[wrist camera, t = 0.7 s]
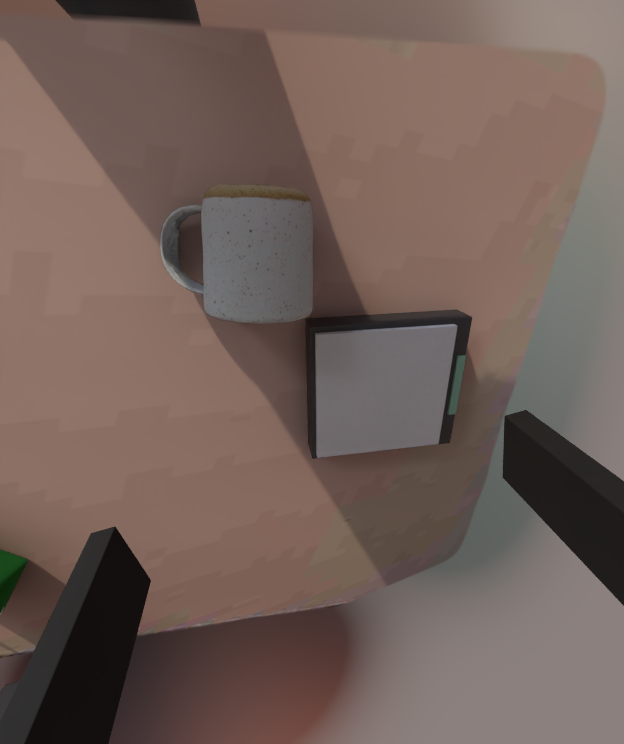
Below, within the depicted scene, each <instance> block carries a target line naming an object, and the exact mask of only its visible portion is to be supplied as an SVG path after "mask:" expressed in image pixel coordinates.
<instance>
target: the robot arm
mask: <svg viewBox="0 0 624 744" xmlns="http://www.w3.org/2000/svg"><path fill="white" fill-rule="evenodd" d="M503 478H504V479H505V480H506V481H507V482H508V483H509V484H510V486H511V487H512V488H513V489H514V490H515V491H516V492H517V493H518V494H519V495H520V496H521V497H522V498H523V499H524V500H525V501H526V502H527V504H528V505H530V507H531V508H532V509H533V510H534V511H535V512H536V513H537V514H538V515H539V516H540V517H541V518H542V519H543V521H544V522H545V523H546V524H547V525H548V526H549V527H550V528H551V529H552V530H553V531H554V532H555V533H556V534H557V535H558V536H559V537H560V539H561V540H562V541H563V542H565V544H566V545H567V546H568V547H569V548H570V549H571V550H572V551H573V552H574V553H575V554H576V556H577V557H578V558H579V559H580V560H581V561H582V562H583V563H584V564H585V565H586V566H587V567H588V568H589V569H590V570H591V571H592V573H593V574H594V575H595V576H596V577H597V578H598V579H599V580H600V581H601V582H602V583H603V584H604V585H605V586H606V587H607V588H608V589H609V591H610V592H611V593H612V594H613V595H614V596H615V597H616V598H617V599H618V600H619V601H620V602H621V603H622V604H623V605H624V481H623V480H621V479H620V478H619V477H617V476H616V475H615V474H613V473H612V472H610V471H609V470H608V469H606V468H605V467H604V466H602V465H601V464H599V463H598V462H597V461H595V460H594V459H593V458H591V457H590V456H588V455H587V454H586V453H584V452H583V451H582V450H580V449H579V448H577V447H576V446H575V445H573V444H572V443H570V442H569V441H568V440H567V439H565V438H564V437H562V436H561V435H560V434H558V433H557V432H556V431H554V430H553V429H551V428H550V427H549V426H547V425H546V424H545V423H543V422H542V421H540V420H539V419H538V418H536V417H535V416H534V415H532V414H531V413H529V412H528V411H527V410H524V411H521V412H517V413H514V414H510V415H507V416H505V422H504V455H503ZM150 582H151V580H150V578H149V577H148V575H147V574H146V572H145V571H144V569H143V568H142V566H141V565H140V563H139V562H138V560H137V559H136V557H135V556H134V554H133V553H132V551H131V550H130V548H129V547H128V545H127V544H126V542H125V541H124V539H123V538H122V536H121V534H120V533H119V531H118V530H117V528H116V527H112V528H108V529H105V530H101V531H98V532H94V533H91V534H90V537H89V539H88V541H87V543H86V545H85V547H84V549H83V551H82V553H81V555H80V557H79V559H78V561H77V563H76V566H75V568H74V570H73V572H72V574H71V576H70V578H69V580H68V582H67V584H66V586H65V588H64V590H63V592H62V595H61V597H60V599H59V601H58V603H57V605H56V607H55V609H54V611H53V613H52V615H51V617H50V619H49V621H48V624H47V626H46V628H45V630H44V632H43V634H42V636H41V638H40V640H39V642H38V644H37V646H36V648H35V650H34V653H33V655H32V657H31V659H30V661H29V663H28V665H27V667H26V669H25V671H24V673H23V675H22V677H21V680H20V681H17V682H13V683H10V684H7V685H5V686H4V688H3V689H2V690H1V692H0V744H108V743H109V739H110V735H111V731H112V727H113V724H114V720H115V716H116V712H117V708H118V704H119V701H120V697H121V693H122V689H123V685H124V681H125V678H126V674H127V670H128V666H129V663H130V659H131V655H132V651H133V647H134V643H135V639H136V636H137V632H138V628H139V624H140V620H141V617H142V613H143V609H144V605H145V601H146V597H147V594H148V590H149V586H150Z"/></svg>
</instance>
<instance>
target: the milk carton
mask: <svg viewBox="0 0 624 744" xmlns="http://www.w3.org/2000/svg"><path fill="white" fill-rule="evenodd" d="M27 562H28V559H25V558H22V557H19V556H17V555H14V554H11V553H8V552H6V551H3V550H0V616H1V614H2V612H3V610H4V608H5V606H6V604H7V602H8V600H9V598H10V596H11V594H12V592H13V590H14V588H15V586H16V584H17V582H18V580H19V578H20V576H21V574H22V572H23V570H24V568H25V566H26V564H27Z"/></svg>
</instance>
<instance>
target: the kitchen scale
mask: <svg viewBox="0 0 624 744" xmlns="http://www.w3.org/2000/svg"><path fill="white" fill-rule="evenodd" d="M471 321H472V317H471V316H469V315H467V314H465V313H462V312H460V311H458V310H445V311H428V312H411V313H395V314H378V315H361V316H344V317H327V318H310V319H306V360H307V405H308V444H309V448H310V452H311V456H312V458H322V457H330V456H339V455H348V454H357V453H365V452H374V451H383V450H392V449H400V448H409V447H418V446H427V445H435V444H444V443H450V439H451V433H452V428H453V422H454V416H455V414H456V411H457V405H458V400H459V394H460V389H461V383H462V378H463V372H464V366H465V361H466V356H465V354H466V349H467V343H468V338H469V332H470V326H471Z"/></svg>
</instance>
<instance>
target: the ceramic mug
mask: <svg viewBox="0 0 624 744" xmlns="http://www.w3.org/2000/svg"><path fill="white" fill-rule="evenodd" d="M200 212H201V227H202V241H203V282H204V285H201V284H199V283H197V282H195V281H194V280H192V279H190V278H189V277H188V276H187V275H186V274H185V272H184V271H183V270H182V268H181V266H180V263H179V258H178V239H179V235H180V230H179V226H180V224H181V223H182V221H183V220H185V219H186V218H187V217H188V216H189V215H192V214H195V213H200ZM160 251H161V257H162V261H163V264H164V266H165V268H166V270H167V271H168V273H169V274H170V275H171V276H172V278H173V279H174V280H175V281H176V282H178V283H179V284H180V285H181V286H183V287H185V288H186V289H188V290H190V291H193V292H195V293H198V294H201V295H204V308H205V312H206V313H207V314H208V315H210V316H212V317H215V318H217V319H221V320H227V321H233V322H241V323H260V324H261V323H282V322H292V321H297V320H300V319H302V318H305V317H308V316H309V315H310V314H311V313H312V310H313V215H312V207H311V202H310V199H309V197H308V195H307V194H305V193H304V192H303V191H302V190H299V189H294V188H288V187H281V186H268V185H257V184H222V185H214V186H211V187H210V188H209V189H208V190H207V191H206V192H205V194H204V198H203V203H202V205H189V206H183V207H181V208H179V209H176V210H175V211H173V212H172V213H171V214H170V215H169V216H168V218H167V219H166V221H165V223H164V224H163V227H162V231H161V237H160Z"/></svg>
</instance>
